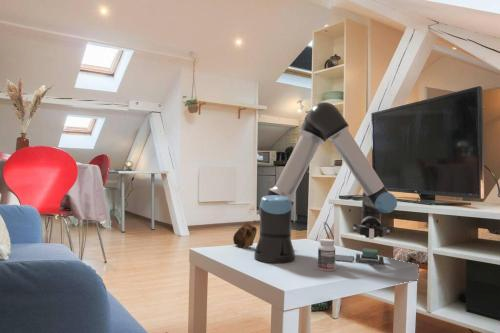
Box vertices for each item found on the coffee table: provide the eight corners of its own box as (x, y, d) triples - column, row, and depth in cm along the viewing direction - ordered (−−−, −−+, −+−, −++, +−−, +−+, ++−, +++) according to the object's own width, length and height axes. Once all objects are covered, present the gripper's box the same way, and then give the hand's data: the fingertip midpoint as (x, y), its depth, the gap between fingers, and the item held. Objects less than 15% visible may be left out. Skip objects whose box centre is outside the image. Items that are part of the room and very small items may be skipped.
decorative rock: (257, 248, 160) (258, 223, 161) (246, 249, 157) (246, 224, 157) (241, 244, 170) (242, 220, 170) (230, 245, 166) (231, 220, 167)
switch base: (355, 262, 139) (355, 255, 139) (355, 259, 143) (355, 253, 143) (383, 264, 136) (384, 257, 136) (383, 262, 140) (383, 255, 140)
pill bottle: (319, 266, 131) (320, 237, 131) (336, 268, 128) (337, 239, 129) (316, 269, 125) (316, 240, 126) (333, 272, 123) (333, 241, 123)
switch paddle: (361, 258, 141) (360, 251, 131) (361, 254, 142) (361, 247, 131) (378, 259, 139) (379, 253, 129) (378, 256, 140) (379, 248, 130)
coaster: (325, 259, 142) (325, 258, 142) (327, 254, 151) (327, 253, 151) (352, 262, 139) (352, 261, 139) (353, 257, 148) (353, 256, 148)
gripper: (388, 238, 143) (392, 248, 120) (353, 235, 147) (350, 244, 124) (389, 218, 143) (393, 225, 121) (354, 215, 147) (351, 221, 124)
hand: (371, 234), depth 122 cm, fingers closed
